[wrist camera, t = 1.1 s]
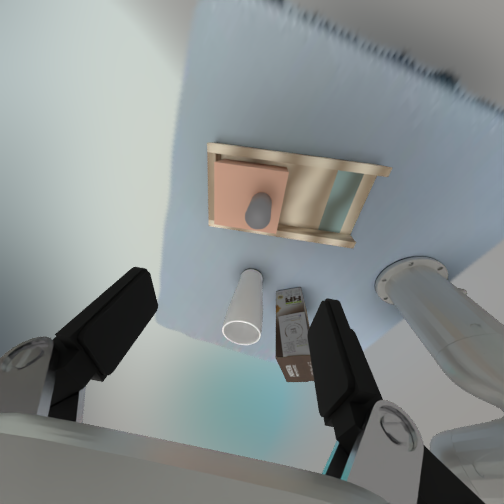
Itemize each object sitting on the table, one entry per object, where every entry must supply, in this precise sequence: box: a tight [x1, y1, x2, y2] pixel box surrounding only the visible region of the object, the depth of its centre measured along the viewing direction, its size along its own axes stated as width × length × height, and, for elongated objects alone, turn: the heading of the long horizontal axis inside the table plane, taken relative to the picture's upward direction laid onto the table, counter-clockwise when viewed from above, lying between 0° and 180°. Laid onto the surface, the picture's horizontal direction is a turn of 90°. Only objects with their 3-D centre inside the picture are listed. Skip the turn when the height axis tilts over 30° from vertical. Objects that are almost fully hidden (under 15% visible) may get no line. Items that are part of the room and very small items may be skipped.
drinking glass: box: [222, 269, 263, 345], centre depth 36 cm, size 7×7×15 cm
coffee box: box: [276, 287, 314, 382], centre depth 38 cm, size 9×6×16 cm
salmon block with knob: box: [214, 159, 289, 234], centre depth 26 cm, size 10×9×12 cm
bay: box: [207, 143, 392, 248], centre depth 30 cm, size 26×13×4 cm, turn 84°
